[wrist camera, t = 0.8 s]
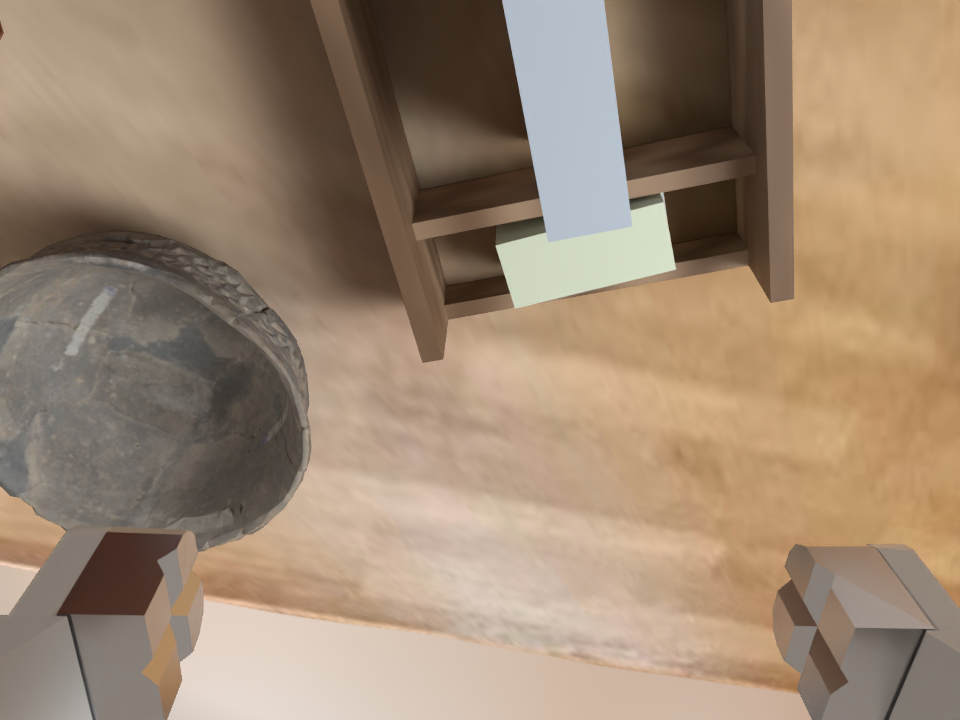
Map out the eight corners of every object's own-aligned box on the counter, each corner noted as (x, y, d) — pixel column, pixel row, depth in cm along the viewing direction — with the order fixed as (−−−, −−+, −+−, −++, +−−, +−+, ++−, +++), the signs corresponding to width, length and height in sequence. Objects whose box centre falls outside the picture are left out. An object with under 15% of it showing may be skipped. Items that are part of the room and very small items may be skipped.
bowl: (362, 231, 48) (332, 312, 39) (319, 478, 59) (288, 582, 50) (11, 149, 46) (-100, 215, 37) (34, 421, 57) (-48, 520, 48)
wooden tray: (744, -177, 36) (790, -183, 30) (758, 243, 47) (793, 298, 42) (325, -69, 39) (292, -55, 33) (432, 303, 50) (422, 362, 44)
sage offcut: (654, 181, 43) (663, 201, 40) (666, 246, 45) (676, 269, 42) (496, 223, 44) (495, 245, 42) (514, 284, 46) (514, 308, 44)
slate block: (570, -72, 39) (598, -39, 27) (598, 126, 44) (632, 226, 32) (501, -55, 39) (499, -16, 27) (537, 139, 44) (548, 242, 33)
